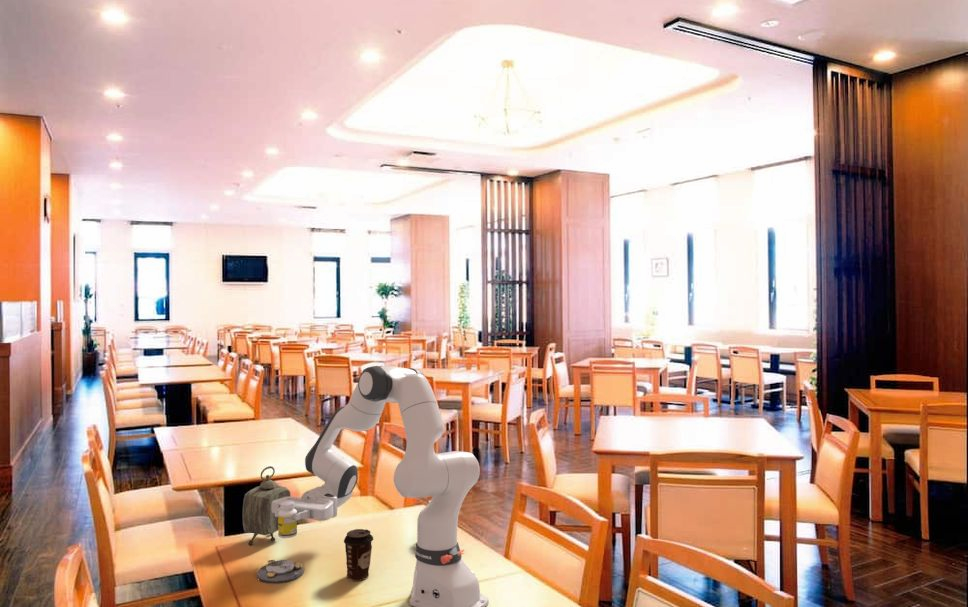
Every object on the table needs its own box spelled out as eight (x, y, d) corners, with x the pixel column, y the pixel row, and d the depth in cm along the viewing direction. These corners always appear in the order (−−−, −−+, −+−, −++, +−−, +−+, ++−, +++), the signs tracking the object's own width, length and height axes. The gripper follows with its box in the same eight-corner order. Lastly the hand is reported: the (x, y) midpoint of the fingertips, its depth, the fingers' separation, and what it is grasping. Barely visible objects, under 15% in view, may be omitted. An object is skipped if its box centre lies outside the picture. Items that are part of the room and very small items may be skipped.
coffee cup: (376, 571, 198) (377, 528, 198) (369, 583, 190) (369, 538, 190) (348, 570, 199) (348, 527, 199) (339, 581, 191) (340, 537, 191)
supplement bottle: (277, 533, 200) (277, 501, 200) (296, 531, 202) (296, 499, 202) (278, 539, 195) (278, 506, 195) (297, 537, 197) (297, 504, 197)
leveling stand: (311, 573, 196) (311, 565, 196) (271, 587, 187) (271, 578, 187) (288, 561, 205) (288, 553, 205) (248, 574, 195) (249, 565, 195)
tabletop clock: (270, 532, 231) (271, 460, 230) (292, 535, 227) (293, 463, 227) (242, 546, 217) (242, 470, 217) (264, 550, 214) (265, 473, 214)
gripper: (288, 489, 214) (258, 501, 202) (341, 497, 206) (313, 509, 194) (288, 508, 214) (258, 521, 202) (341, 517, 206) (313, 531, 194)
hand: (285, 516), depth 197 cm, fingers closed on supplement bottle, 5 cm apart
